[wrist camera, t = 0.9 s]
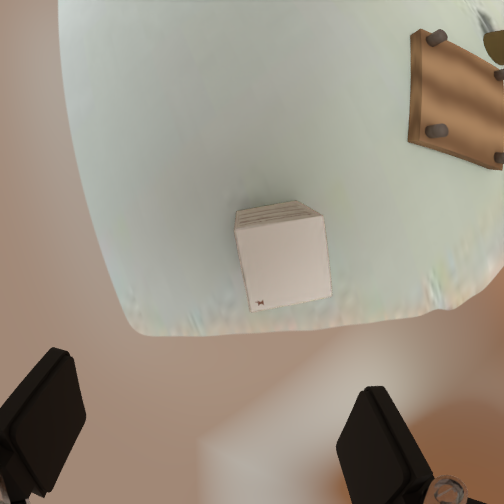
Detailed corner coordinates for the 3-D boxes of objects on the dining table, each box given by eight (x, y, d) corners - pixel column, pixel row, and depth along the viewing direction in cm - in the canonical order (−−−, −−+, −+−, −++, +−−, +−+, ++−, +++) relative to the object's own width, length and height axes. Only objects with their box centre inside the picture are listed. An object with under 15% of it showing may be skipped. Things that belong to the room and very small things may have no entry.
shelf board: (410, 35, 30) (432, 21, 25) (490, 74, 31) (514, 68, 26) (407, 141, 34) (432, 139, 29) (489, 169, 35) (515, 171, 30)
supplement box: (305, 258, 38) (334, 300, 26) (245, 268, 38) (247, 315, 26) (298, 198, 36) (326, 213, 24) (235, 208, 36) (231, 229, 24)
